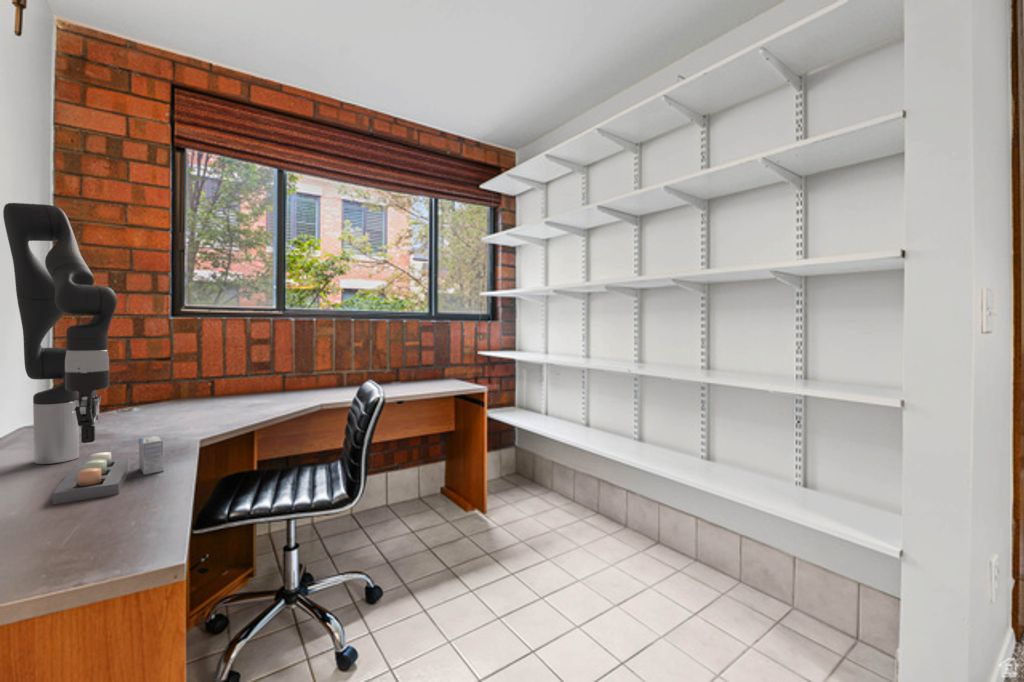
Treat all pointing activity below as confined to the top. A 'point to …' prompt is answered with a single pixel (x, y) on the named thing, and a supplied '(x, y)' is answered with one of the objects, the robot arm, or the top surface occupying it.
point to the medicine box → (151, 455)
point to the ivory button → (102, 457)
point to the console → (106, 487)
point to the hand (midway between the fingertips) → (88, 442)
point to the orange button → (89, 476)
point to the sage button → (97, 465)
